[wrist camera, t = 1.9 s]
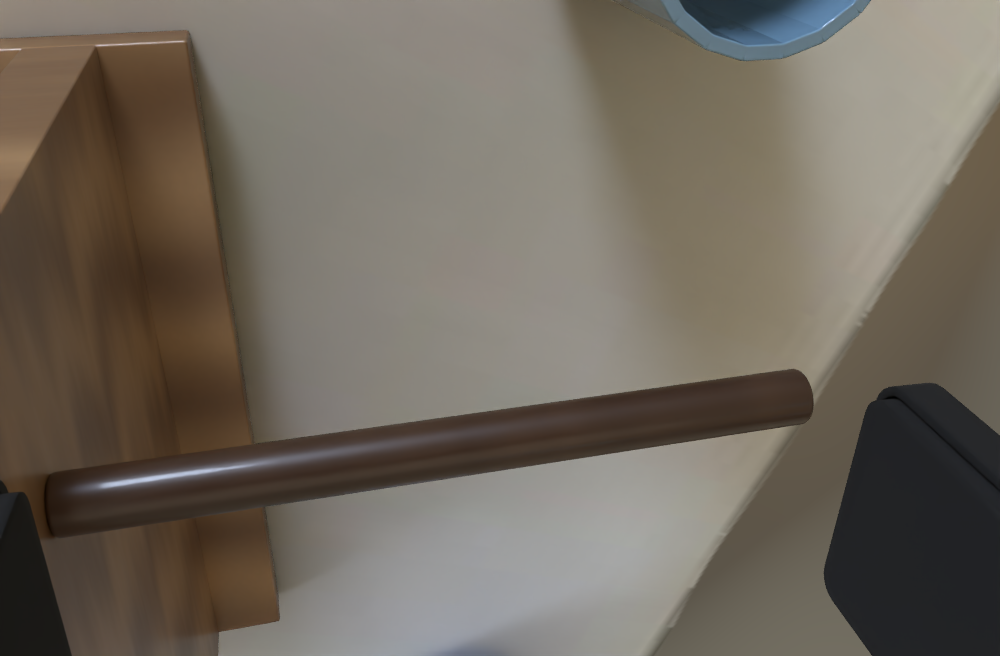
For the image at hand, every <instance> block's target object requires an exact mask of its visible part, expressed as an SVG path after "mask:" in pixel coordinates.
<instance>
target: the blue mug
mask: <svg viewBox="0 0 1000 656" xmlns="http://www.w3.org/2000/svg"><path fill="white" fill-rule="evenodd" d="M613 1H614V2H616V3H618V4H620V5H622V6H624V7H626V8H628V9H630V10H631V11H633V12H635V13H637V14H639V15H641V16H643V17H645V18H647V19H649V20H650V21H652V22H654V23H656V24H658V25H660V26H662V27H664V28H666V29H668V30H669V31H671V32H673V33H675V34H677V35H679V36H681V37H683V38H685V39H686V40H688V41H690V42H692V43H694V44H696V45H698V46H700V47H702V48H704V49H705V50H708V51H711V52H714V53H718V54H721V55H724V56H727V57H730V58H733V59H737V60H740V61H742V60H743V61H755V60H772V59H782V58H786V57H789V56H791V55H794V54H796V53H799V52H801V51H804V50H806V49H809V48H811V47H814V46H816V45H819V44H821V43H823V42H825V41H826V40H827V39H829V38H830V37H831V36H833V35H834V34H835V33H837V32H838V31H839V30H840V29H842V28H843V27H844V26H846V25H847V24H848V23H849V22H851V21H852V20H853V19H855V18H856V17H857V16H859V13H862V11H863V10H864V9H865V8H866V6H867V5H868V4H869V2H870V1H871V0H613Z"/></svg>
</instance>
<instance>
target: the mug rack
mask: <svg viewBox="0 0 1000 656" xmlns="http://www.w3.org/2000/svg"><path fill="white" fill-rule="evenodd" d="M812 412H813V393H812V389H811V386H810V384H809V382H808V380H807V378H806V377H805V375H804V374H803V373H802V372H800V371H799V370H796V369H788V370H781V371H773V372H766V373H759V374H752V375H745V376H738V377H730V378H723V379H716V380H709V381H702V382H695V383H688V384H680V385H673V386H666V387H659V388H652V389H645V390H637V391H630V392H623V393H616V394H609V395H602V396H594V397H587V398H580V399H573V400H566V401H559V402H551V403H544V404H537V405H530V406H523V407H516V408H508V409H501V410H494V411H487V412H480V413H473V414H465V415H458V416H451V417H444V418H437V419H430V420H422V421H415V422H408V423H401V424H394V425H387V426H379V427H372V428H365V429H358V430H351V431H344V432H337V433H329V434H322V435H315V436H308V437H301V438H294V439H286V440H279V441H272V442H265V443H258V444H254V437H253V431H252V425H251V419H250V412H249V406H248V400H247V393H246V387H245V381H244V374H243V368H242V362H241V355H240V349H239V343H238V336H237V330H236V324H235V318H234V311H233V305H232V299H231V292H230V286H229V280H228V273H227V267H226V261H225V254H224V248H223V242H222V235H221V229H220V223H219V216H218V210H217V204H216V198H215V191H214V185H213V179H212V172H211V166H210V160H209V153H208V147H207V141H206V134H205V128H204V122H203V115H202V109H201V103H200V97H199V90H198V84H197V78H196V71H195V65H194V59H193V52H192V46H191V40H190V33H189V32H188V31H186V30H182V31H160V32H138V33H116V34H93V35H71V36H49V37H27V38H5V39H0V480H1V481H2V482H3V483H4V484H5V486H6V487H7V490H8V492H9V493H13V492H24V493H25V494H26V496H27V497H28V500H29V502H30V506H31V509H32V513H33V516H34V520H35V524H36V527H37V531H38V535H39V538H40V542H41V545H42V549H43V553H44V556H45V560H46V563H47V567H48V571H49V574H50V578H51V582H52V585H53V589H54V592H55V596H56V600H57V603H58V607H59V610H60V614H61V618H62V621H63V625H64V629H65V632H66V636H67V639H68V643H69V647H70V650H71V654H72V656H218V643H219V632H221V631H227V630H232V629H238V628H243V627H249V626H254V625H260V624H266V623H271V622H277V621H279V620H280V612H279V595H278V589H277V583H276V576H275V570H274V564H273V557H272V551H271V545H270V539H269V532H268V526H267V520H266V513H265V507H268V506H274V505H281V504H287V503H294V502H300V501H307V500H313V499H320V498H326V497H332V496H339V495H345V494H352V493H358V492H365V491H371V490H378V489H384V488H391V487H397V486H404V485H410V484H417V483H423V482H430V481H436V480H443V479H449V478H456V477H462V476H469V475H475V474H482V473H488V472H495V471H501V470H508V469H514V468H520V467H527V466H533V465H540V464H546V463H553V462H559V461H566V460H572V459H579V458H585V457H592V456H598V455H605V454H611V453H618V452H624V451H631V450H637V449H644V448H650V447H657V446H663V445H670V444H676V443H683V442H689V441H696V440H702V439H708V438H715V437H721V436H728V435H734V434H741V433H747V432H754V431H760V430H767V429H773V428H780V427H786V426H793V425H799V424H804V423H805V422H807V421H808V420H809V419H810V417H811V415H812Z"/></svg>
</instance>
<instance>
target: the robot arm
mask: <svg viewBox="0 0 1000 656" xmlns="http://www.w3.org/2000/svg"><path fill="white" fill-rule="evenodd" d="M824 580H825V585H826V589H827V591H828V593H829V596H830V597H831V599H832V601H833V602H834V604H835V605H836V606H837V608H838V609H839V610H840V612H841V613H842V615H843V616H844V617H845V619H846V620H847V622H848V623H849V624H850V626H851V627H852V628H853V630H854V631H855V633H856V634H857V635H858V637H859V638H860V640H861V641H862V642H863V644H864V645H865V646H866V648H867V649H868V651H869V652H870V653H871V655H872V656H1000V435H998V434H997V433H996V432H995V431H994V430H992V429H991V428H990V427H989V426H988V425H987V424H985V423H984V422H983V421H982V420H980V419H979V418H978V417H977V416H976V415H975V414H973V413H972V412H971V411H970V410H969V409H967V408H966V407H965V406H964V405H963V404H962V403H961V402H959V401H958V400H957V399H956V398H955V397H953V396H952V395H951V394H950V393H949V392H947V391H946V390H945V389H944V388H942V387H941V386H939V385H937V384H934V383H922V384H912V385H903V386H894V387H888V388H886V389H884V390H883V391H882V392H881V393H880V394H879V395H878V398H877V400H876V401H873V402H871V403H870V404H869V405H868V407H867V410H866V412H865V415H864V419H863V423H862V427H861V431H860V434H859V438H858V442H857V446H856V449H855V454H854V457H853V461H852V465H851V468H850V473H849V476H848V480H847V483H846V487H845V491H844V495H843V499H842V502H841V507H840V510H839V514H838V518H837V521H836V525H835V529H834V533H833V537H832V540H831V544H830V548H829V552H828V556H827V559H826V564H825V568H824ZM0 656H72V654H71V650H70V647H69V643H68V639H67V636H66V632H65V629H64V625H63V621H62V618H61V614H60V610H59V607H58V603H57V600H56V596H55V592H54V589H53V585H52V582H51V578H50V574H49V571H48V567H47V563H46V560H45V556H44V553H43V549H42V545H41V542H40V538H39V535H38V531H37V527H36V524H35V520H34V516H33V513H32V509H31V506H30V502H29V500H28V497H27V496H26V494H25V493H24V492H13V493H9V492H8V490H7V487H6V486H5V484H4V483H3V482H2V481H1V480H0Z"/></svg>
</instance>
